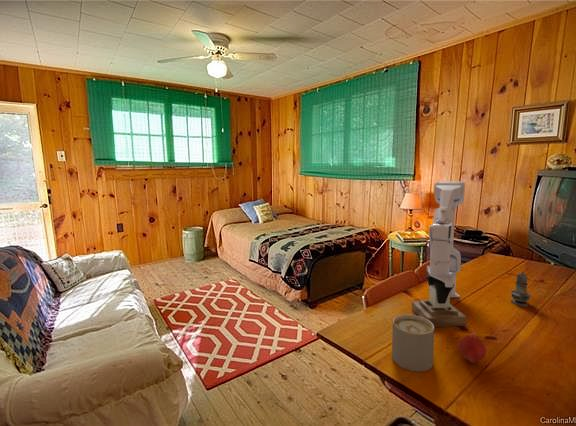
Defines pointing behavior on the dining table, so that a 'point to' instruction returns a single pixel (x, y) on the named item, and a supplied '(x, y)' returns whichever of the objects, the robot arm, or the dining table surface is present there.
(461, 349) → the onion
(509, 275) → the dining table surface
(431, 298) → the block
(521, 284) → the salt shaker
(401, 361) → the grey can
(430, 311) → the taupe stepped square slab
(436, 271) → the robot arm
